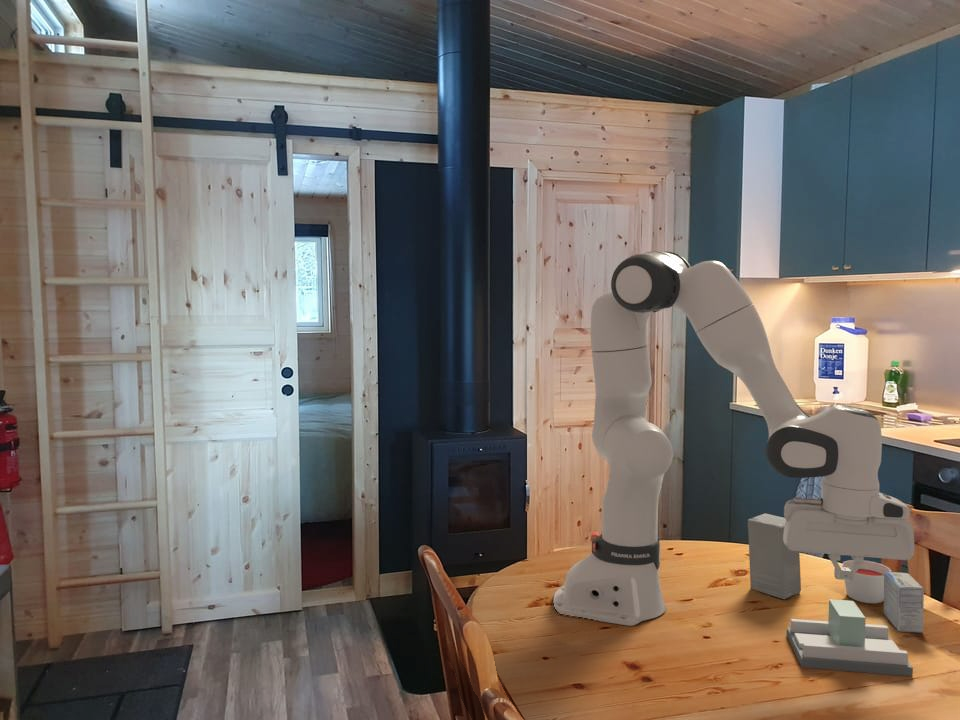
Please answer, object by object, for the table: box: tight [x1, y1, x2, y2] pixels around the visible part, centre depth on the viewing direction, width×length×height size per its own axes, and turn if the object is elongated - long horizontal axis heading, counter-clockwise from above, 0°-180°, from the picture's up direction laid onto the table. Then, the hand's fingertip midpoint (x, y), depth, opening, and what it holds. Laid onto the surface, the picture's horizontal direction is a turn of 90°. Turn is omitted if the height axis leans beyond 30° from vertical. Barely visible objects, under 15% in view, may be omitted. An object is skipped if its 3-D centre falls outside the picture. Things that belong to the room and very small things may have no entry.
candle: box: [841, 559, 892, 604], centre depth 150 cm, size 9×9×6 cm
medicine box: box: [883, 571, 925, 634], centre depth 138 cm, size 8×4×9 cm, turn 168°
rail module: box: [828, 599, 866, 647], centre depth 126 cm, size 4×7×6 cm, turn 168°
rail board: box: [786, 618, 914, 677], centre depth 126 cm, size 17×12×4 cm
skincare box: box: [747, 512, 802, 600], centre depth 153 cm, size 8×7×16 cm
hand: (844, 579), depth 125 cm, fingers closed
